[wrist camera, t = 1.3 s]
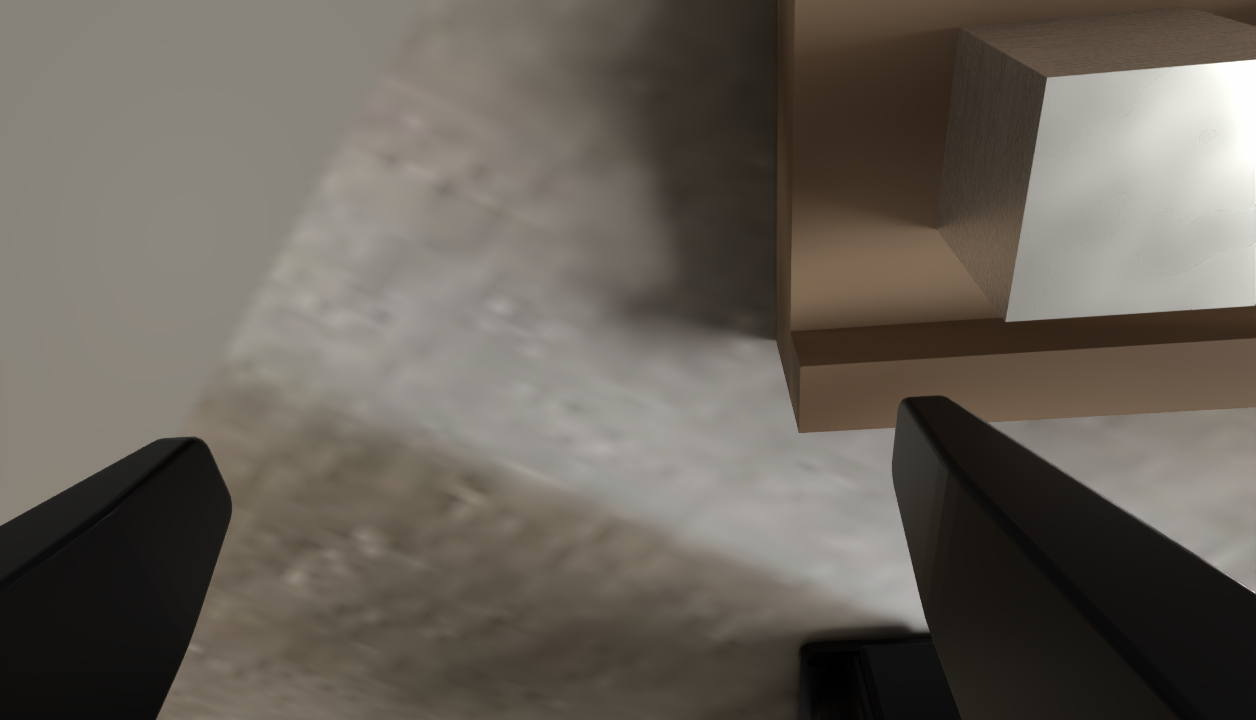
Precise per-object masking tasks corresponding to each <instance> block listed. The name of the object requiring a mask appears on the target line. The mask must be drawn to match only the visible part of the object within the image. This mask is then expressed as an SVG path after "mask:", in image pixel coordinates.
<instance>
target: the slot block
mask: <svg viewBox="0 0 1256 720" xmlns="http://www.w3.org/2000/svg"><path fill="white" fill-rule="evenodd" d="M1183 6H1186V7H1190V8H1193V9H1197V10H1200V11H1204V12H1207V13H1211V14H1214V15H1217V16H1221V17H1224V18H1228V19H1231V20H1235V21H1238V22H1242V23H1245V24H1249V25H1252V26H1256V0H777V301H776V342H777V346H778V350H779V354H780V358H781V362H782V366H783V370H784V374H785V378H786V382H787V386H788V391H789V395H790V399H791V403H792V407H793V411H794V415H795V419H796V423H797V427H798V431H799V433H807V432H824V431H842V430H860V429H877V428H895V427H896V420H897V411H898V407H899V404H900V402H901V401H902V400H903V399H904V398H906V397H915V396H932V395H942V396H945V397H947V398H949V399H951V400H953V401H954V402H956V403H957V404H959V405H960V406H962V407H964V408H965V409H967V410H968V411H970V412H971V413H973V414H975V415H976V416H978V417H979V418H981V419H983V420H984V421H986V422H1001V421H1019V420H1036V419H1054V418H1071V417H1089V416H1107V415H1124V414H1142V413H1160V412H1177V411H1195V410H1213V409H1230V408H1248V407H1256V305H1255V306H1243V307H1228V308H1212V309H1197V310H1182V311H1166V312H1151V313H1136V314H1120V315H1105V316H1090V317H1074V318H1059V319H1044V320H1028V321H1013V322H1005V321H1004V319H1003V318H1002V317H1001V315H1000V314H999V313H998V311H997V310H996V309H995V307H994V306H993V305H992V303H991V302H990V301H989V299H988V298H987V297H986V295H985V294H984V293H983V291H982V290H981V289H980V287H979V286H978V285H977V283H976V282H975V281H974V279H973V278H972V277H971V275H970V274H969V273H968V271H967V270H966V269H965V267H964V266H963V265H962V263H961V262H960V261H959V259H958V258H957V257H956V255H955V254H954V252H953V251H952V250H951V248H950V247H949V246H948V244H947V243H946V242H945V240H944V239H943V238H942V236H941V235H940V234H939V232H938V231H937V230H936V225H937V216H938V207H939V198H940V189H941V180H942V171H943V163H944V154H945V145H946V136H947V127H948V118H949V109H950V100H951V91H952V82H953V74H954V65H955V56H956V47H957V38H958V29H959V27H964V26H975V25H986V24H997V23H1008V22H1019V21H1030V20H1041V19H1052V18H1063V17H1074V16H1085V15H1095V14H1106V13H1117V12H1128V11H1139V10H1150V9H1161V8H1172V7H1183Z"/></svg>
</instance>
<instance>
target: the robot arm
mask: <svg viewBox="0 0 1256 720" xmlns="http://www.w3.org/2000/svg"><path fill="white" fill-rule="evenodd" d="M892 477H893V484H894V489H895V493H896V497H897V502H898V506H899V510H900V514H901V519H902V523H903V527H904V531H905V536H906V540H907V544H908V548H909V553H910V557H911V561H912V565H913V570H914V574H915V578H916V582H917V587H918V591H919V595H920V599H921V603H922V607H923V611H924V615H925V619H926V622H927V625H928V628H929V631H930V634H931V636H932V638H918V639H892V640H865V641H839V642H814V643H808V644H806V645H804V646H802V647H801V648H800V650H799V653H798V691H797V720H1256V592H1254V591H1253V590H1251V589H1249V588H1248V587H1246V586H1245V585H1243V584H1241V583H1240V582H1238V581H1237V580H1235V579H1234V578H1232V577H1230V576H1229V575H1227V574H1226V573H1224V572H1223V571H1221V570H1219V569H1218V568H1216V567H1215V566H1213V565H1211V564H1210V563H1208V562H1207V561H1205V560H1204V559H1202V558H1200V557H1199V556H1197V555H1196V554H1194V553H1193V552H1191V551H1189V550H1188V549H1186V548H1185V547H1183V546H1181V545H1180V544H1178V543H1177V542H1175V541H1174V540H1172V539H1170V538H1169V537H1167V536H1166V535H1164V534H1163V533H1161V532H1159V531H1158V530H1156V529H1155V528H1153V527H1151V526H1150V525H1148V524H1147V523H1145V522H1144V521H1142V520H1140V519H1139V518H1137V517H1136V516H1134V515H1133V514H1131V513H1129V512H1128V511H1126V510H1125V509H1123V508H1121V507H1120V506H1118V505H1117V504H1115V503H1114V502H1112V501H1110V500H1109V499H1107V498H1106V497H1104V496H1103V495H1101V494H1099V493H1098V492H1096V491H1095V490H1093V489H1091V488H1090V487H1088V486H1087V485H1085V484H1084V483H1082V482H1080V481H1079V480H1077V479H1076V478H1074V477H1073V476H1071V475H1069V474H1068V473H1066V472H1065V471H1063V470H1061V469H1060V468H1058V467H1057V466H1055V465H1054V464H1052V463H1050V462H1049V461H1047V460H1046V459H1044V458H1043V457H1041V456H1039V455H1038V454H1036V453H1035V452H1033V451H1031V450H1030V449H1028V448H1027V447H1025V446H1024V445H1022V444H1020V443H1019V442H1017V441H1016V440H1014V439H1013V438H1011V437H1009V436H1008V435H1006V434H1005V433H1003V432H1001V431H1000V430H998V429H997V428H995V427H994V426H992V425H990V424H989V423H987V422H986V421H984V420H983V419H981V418H979V417H978V416H976V415H975V414H973V413H971V412H970V411H968V410H967V409H965V408H964V407H962V406H960V405H959V404H957V403H956V402H954V401H953V400H951V399H949V398H947V397H945V396H942V395H932V396H915V397H906V398H904V399H903V400H902V401H901V402H900V404H899V407H898V411H897V420H896V429H895V439H894V448H893V458H892ZM231 514H232V501H231V496H230V493H229V491H228V489H227V486H226V484H225V482H224V480H223V478H222V475H221V473H220V471H219V469H218V466H217V464H216V462H215V460H214V458H213V455H212V453H211V451H210V449H209V447H208V445H207V444H206V443H205V442H204V441H203V440H202V439H200V438H197V437H177V438H162V439H159V440H156V441H154V442H152V443H150V444H149V445H147V446H145V447H143V448H141V449H139V450H137V451H136V452H134V453H132V454H130V455H128V456H126V457H125V458H123V459H121V460H119V461H117V462H116V463H114V464H112V465H110V466H108V467H107V468H105V469H103V470H101V471H100V472H97V473H96V474H94V475H92V476H90V477H88V478H87V479H85V480H83V481H81V482H79V483H77V484H76V485H74V486H72V487H70V488H68V489H67V490H65V491H63V492H61V493H59V494H58V495H56V496H54V497H52V498H51V499H49V500H47V501H45V502H43V503H41V504H39V505H38V506H36V507H34V508H32V509H30V510H29V511H27V512H25V513H23V514H21V515H19V516H18V517H16V518H14V519H12V520H11V521H9V522H7V523H5V524H3V525H1V526H0V720H156V719H157V717H158V714H159V712H160V710H161V708H162V705H163V703H164V701H165V699H166V696H167V694H168V692H169V690H170V688H171V685H172V683H173V681H174V679H175V676H176V674H177V672H178V670H179V667H180V665H181V663H182V660H183V658H184V655H185V653H186V651H187V648H188V646H189V643H190V640H191V637H192V634H193V632H194V629H195V626H196V623H197V620H198V617H199V614H200V611H201V608H202V605H203V602H204V599H205V596H206V593H207V590H208V587H209V584H210V581H211V578H212V575H213V571H214V568H215V565H216V562H217V559H218V556H219V553H220V550H221V547H222V544H223V541H224V538H225V535H226V532H227V529H228V526H229V523H230V519H231Z"/></svg>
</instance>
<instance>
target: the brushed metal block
mask: <svg viewBox="0 0 1256 720" xmlns="http://www.w3.org/2000/svg"><path fill="white" fill-rule="evenodd" d="M936 230H937V231H938V232H939V234H940V235H941V236H942V238H943V239H944V240H945V242H946V243H947V244H948V246H949V247H950V248H951V250H952V251H953V252H954V254H955V255H956V257H957V258H958V259H959V261H960V262H961V263H962V265H963V266H964V267H965V269H966V270H967V271H968V273H969V274H970V275H971V277H972V278H973V279H974V281H975V282H976V283H977V285H978V286H979V287H980V289H981V290H982V291H983V293H984V294H985V295H986V297H987V298H988V299H989V301H990V302H991V303H992V305H993V306H994V307H995V309H996V310H997V311H998V313H999V314H1000V315H1001V317H1002V318H1003V319H1004V321H1005V322H1013V321H1028V320H1044V319H1059V318H1074V317H1090V316H1105V315H1120V314H1136V313H1151V312H1166V311H1182V310H1197V309H1212V308H1228V307H1243V306H1255V305H1256V26H1252V25H1249V24H1245V23H1242V22H1238V21H1235V20H1231V19H1228V18H1224V17H1221V16H1217V15H1214V14H1211V13H1207V12H1204V11H1200V10H1197V9H1193V8H1190V7H1186V6H1183V7H1172V8H1161V9H1150V10H1139V11H1128V12H1117V13H1106V14H1095V15H1085V16H1074V17H1063V18H1052V19H1041V20H1030V21H1019V22H1008V23H997V24H986V25H975V26H964V27H959V29H958V38H957V47H956V56H955V65H954V74H953V82H952V91H951V100H950V109H949V118H948V127H947V136H946V145H945V154H944V163H943V171H942V180H941V189H940V198H939V207H938V216H937V225H936Z"/></svg>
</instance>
